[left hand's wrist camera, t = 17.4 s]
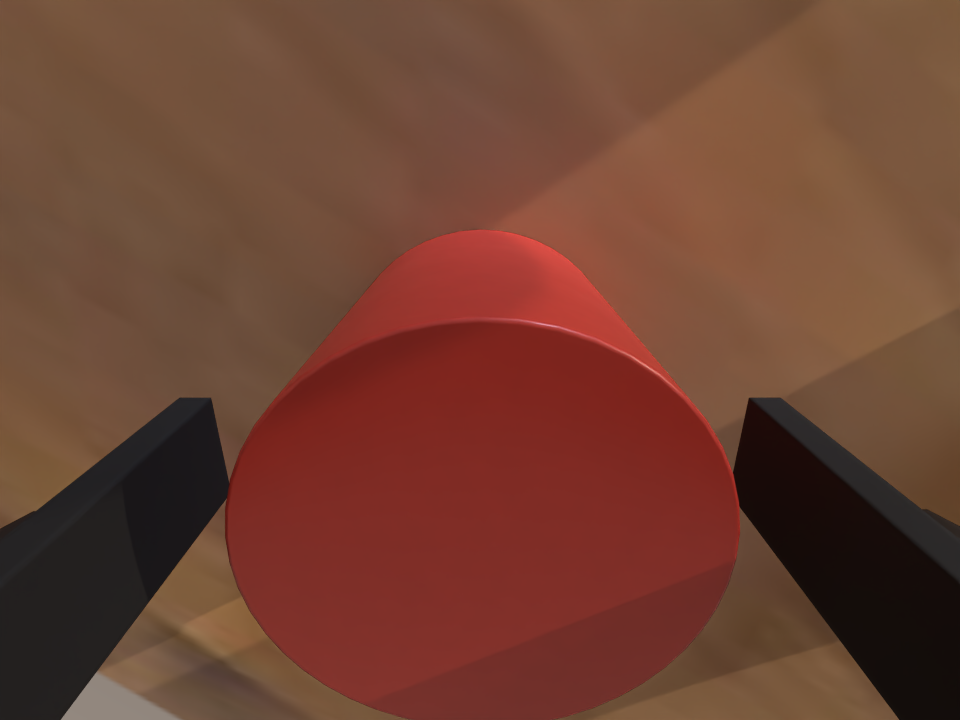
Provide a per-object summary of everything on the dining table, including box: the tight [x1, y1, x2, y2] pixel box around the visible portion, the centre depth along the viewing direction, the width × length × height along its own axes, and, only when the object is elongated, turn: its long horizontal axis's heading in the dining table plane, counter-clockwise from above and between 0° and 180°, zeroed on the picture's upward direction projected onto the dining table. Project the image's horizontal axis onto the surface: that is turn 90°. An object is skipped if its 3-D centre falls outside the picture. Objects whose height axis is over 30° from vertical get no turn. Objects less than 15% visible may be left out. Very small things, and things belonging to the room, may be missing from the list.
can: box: [225, 230, 740, 720], centre depth 13 cm, size 9×9×9 cm
